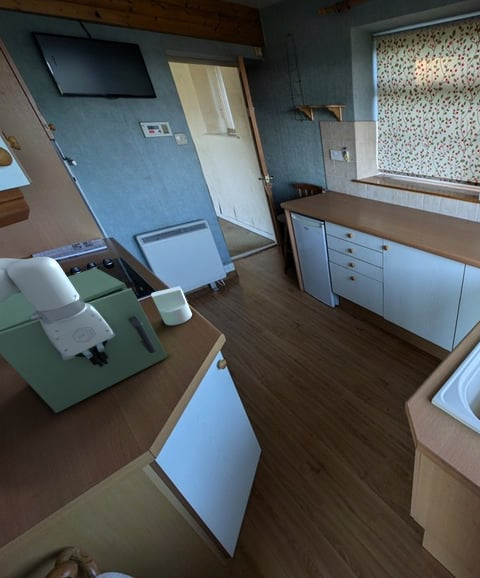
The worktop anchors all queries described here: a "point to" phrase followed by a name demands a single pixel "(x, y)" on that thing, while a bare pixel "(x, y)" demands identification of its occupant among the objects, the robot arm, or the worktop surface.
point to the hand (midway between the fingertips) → (102, 363)
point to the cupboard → (85, 283)
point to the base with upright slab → (172, 305)
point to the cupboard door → (79, 370)
